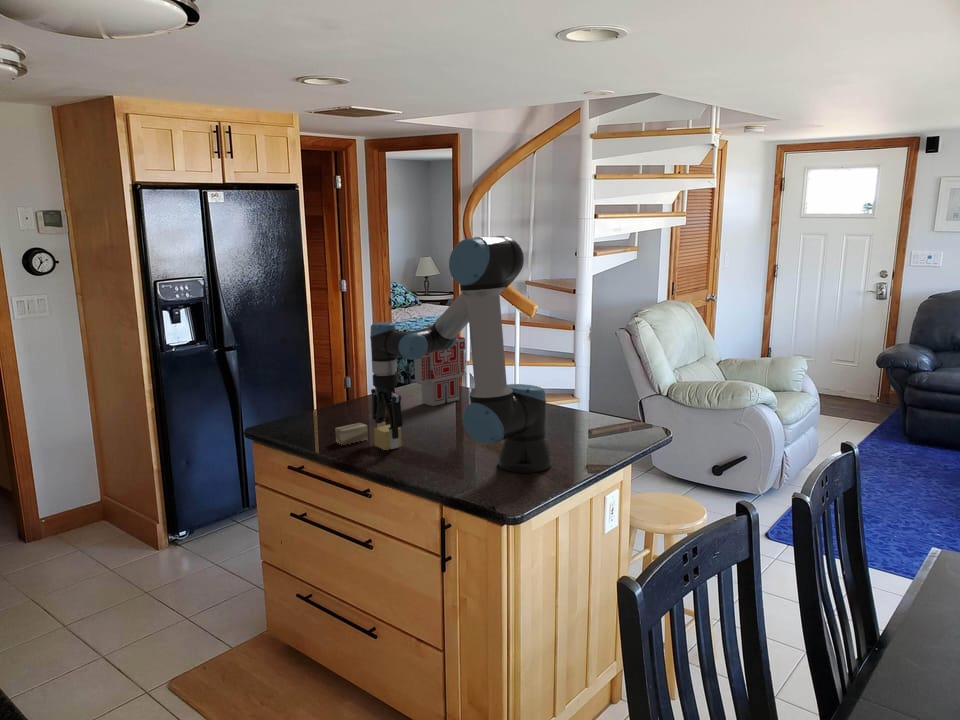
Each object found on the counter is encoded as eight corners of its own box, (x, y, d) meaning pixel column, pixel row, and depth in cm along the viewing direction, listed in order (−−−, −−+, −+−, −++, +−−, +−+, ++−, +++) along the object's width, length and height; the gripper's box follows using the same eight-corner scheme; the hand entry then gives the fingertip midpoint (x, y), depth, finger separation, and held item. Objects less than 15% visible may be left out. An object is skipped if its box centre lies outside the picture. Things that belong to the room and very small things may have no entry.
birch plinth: (368, 440, 231) (367, 425, 230) (342, 446, 226) (341, 431, 225) (361, 437, 234) (360, 422, 233) (336, 443, 229) (335, 428, 228)
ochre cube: (401, 446, 224) (401, 428, 223) (385, 451, 220) (384, 432, 219) (391, 442, 229) (390, 424, 227) (375, 446, 225) (374, 427, 224)
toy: (423, 409, 265) (420, 329, 259) (411, 405, 271) (408, 326, 265) (469, 398, 280) (468, 322, 274) (457, 395, 285) (455, 320, 279)
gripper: (412, 376, 215) (415, 450, 219) (379, 366, 229) (382, 435, 234) (391, 380, 210) (394, 455, 215) (358, 369, 225) (361, 440, 230)
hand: (388, 445), depth 224 cm, fingers open, 6 cm apart
